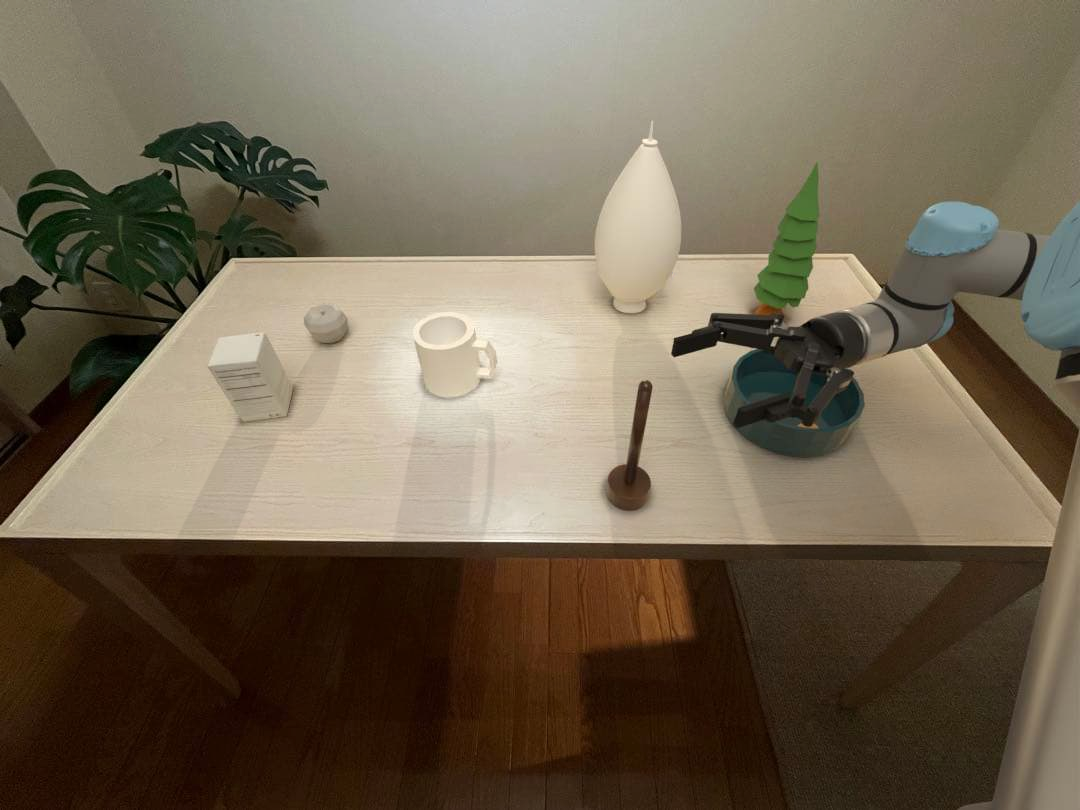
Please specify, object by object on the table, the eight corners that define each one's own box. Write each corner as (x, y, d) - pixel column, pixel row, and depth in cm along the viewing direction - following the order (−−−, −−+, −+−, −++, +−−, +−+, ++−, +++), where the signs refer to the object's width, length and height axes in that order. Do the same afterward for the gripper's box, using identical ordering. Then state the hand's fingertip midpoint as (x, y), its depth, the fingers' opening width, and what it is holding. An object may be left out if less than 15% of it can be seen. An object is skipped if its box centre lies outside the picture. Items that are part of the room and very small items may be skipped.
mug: (504, 363, 96) (500, 315, 88) (492, 402, 89) (486, 354, 81) (433, 356, 98) (423, 309, 90) (416, 394, 90) (403, 346, 83)
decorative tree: (743, 302, 108) (790, 150, 86) (790, 304, 107) (849, 151, 86) (752, 331, 101) (805, 174, 80) (802, 333, 100) (870, 175, 79)
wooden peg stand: (655, 503, 74) (683, 391, 58) (618, 516, 73) (635, 406, 57) (635, 471, 78) (656, 359, 62) (599, 483, 77) (611, 372, 61)
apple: (309, 353, 99) (297, 326, 94) (312, 329, 104) (301, 301, 100) (353, 347, 100) (343, 319, 95) (353, 323, 105) (344, 295, 101)
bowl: (876, 436, 82) (894, 409, 78) (773, 473, 77) (786, 447, 73) (793, 361, 95) (804, 335, 90) (700, 389, 90) (707, 363, 86)
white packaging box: (251, 392, 92) (217, 335, 83) (294, 387, 92) (266, 330, 83) (241, 423, 86) (204, 366, 77) (287, 417, 87) (256, 360, 78)
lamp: (586, 284, 114) (595, 106, 89) (659, 281, 114) (688, 103, 89) (596, 329, 102) (609, 139, 78) (676, 325, 103) (715, 135, 78)
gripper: (906, 423, 63) (760, 476, 58) (771, 312, 79) (648, 345, 74) (939, 377, 57) (781, 430, 52) (787, 268, 74) (656, 300, 69)
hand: (703, 380), depth 63 cm, fingers open, 13 cm apart
